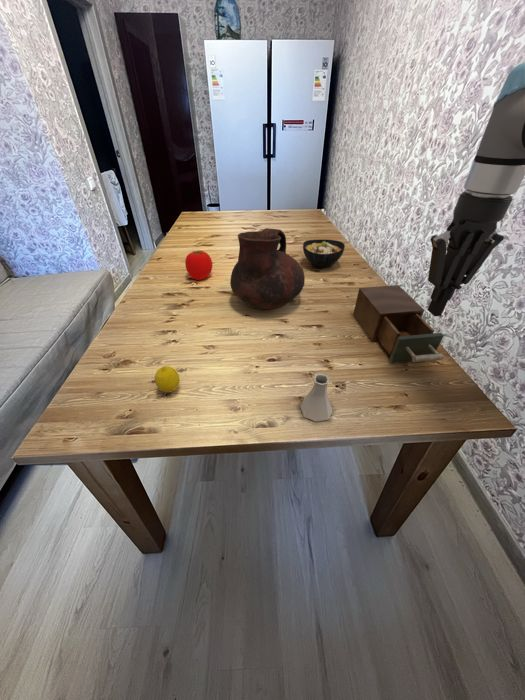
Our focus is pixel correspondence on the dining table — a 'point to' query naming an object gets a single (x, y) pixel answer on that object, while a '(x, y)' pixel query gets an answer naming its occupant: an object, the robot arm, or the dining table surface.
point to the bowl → (323, 252)
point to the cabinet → (382, 306)
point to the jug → (265, 270)
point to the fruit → (167, 379)
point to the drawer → (409, 338)
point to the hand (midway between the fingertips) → (434, 312)
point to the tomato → (198, 264)
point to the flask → (317, 400)
